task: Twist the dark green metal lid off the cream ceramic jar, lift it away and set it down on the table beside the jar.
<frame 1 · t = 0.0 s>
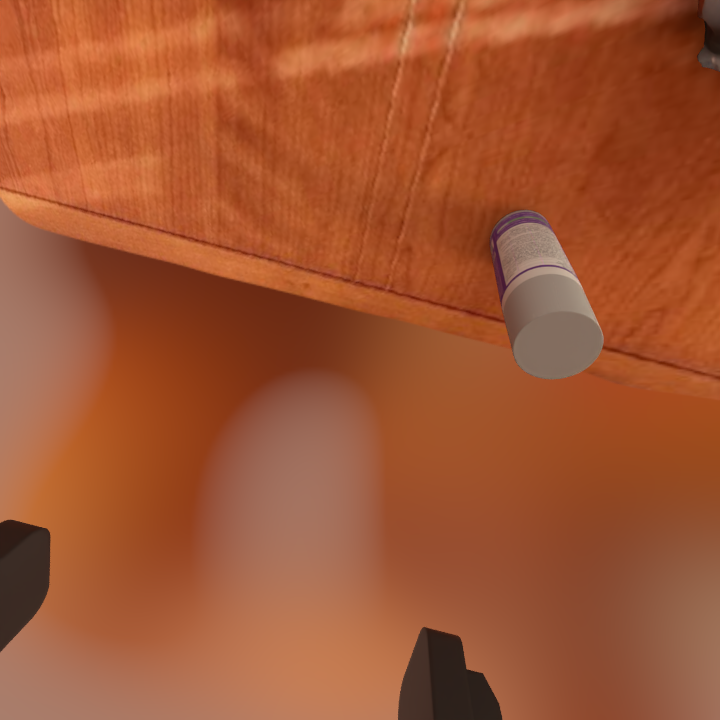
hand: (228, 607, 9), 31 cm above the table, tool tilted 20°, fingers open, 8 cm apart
container: (519, 238, 35), on the table
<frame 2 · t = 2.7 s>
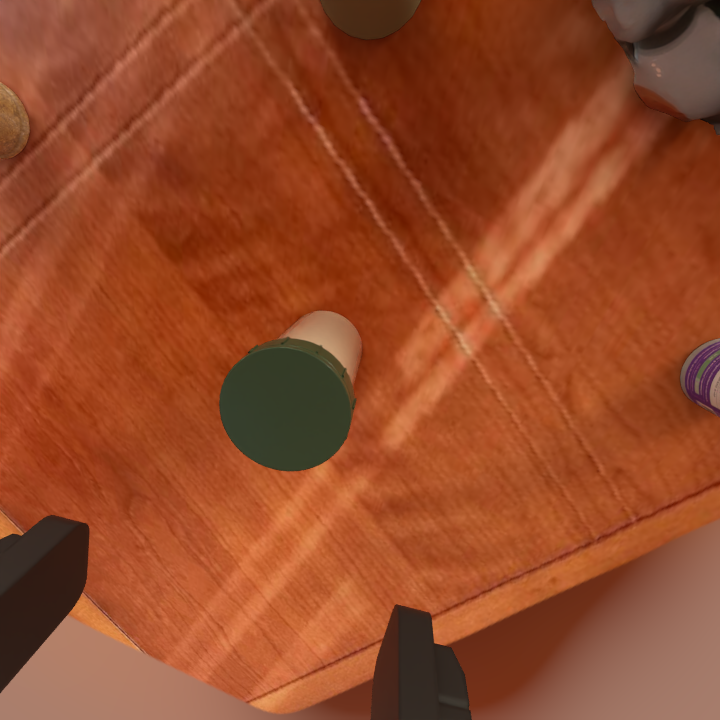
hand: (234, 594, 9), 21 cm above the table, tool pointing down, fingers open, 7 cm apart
container: (716, 371, 28), on the table
lid: (286, 408, 20), point 10 cm above the table, screwed on, not yet turned
jar: (324, 348, 30), on the table
sprinkles bottle: (1, 122, 27), on the table
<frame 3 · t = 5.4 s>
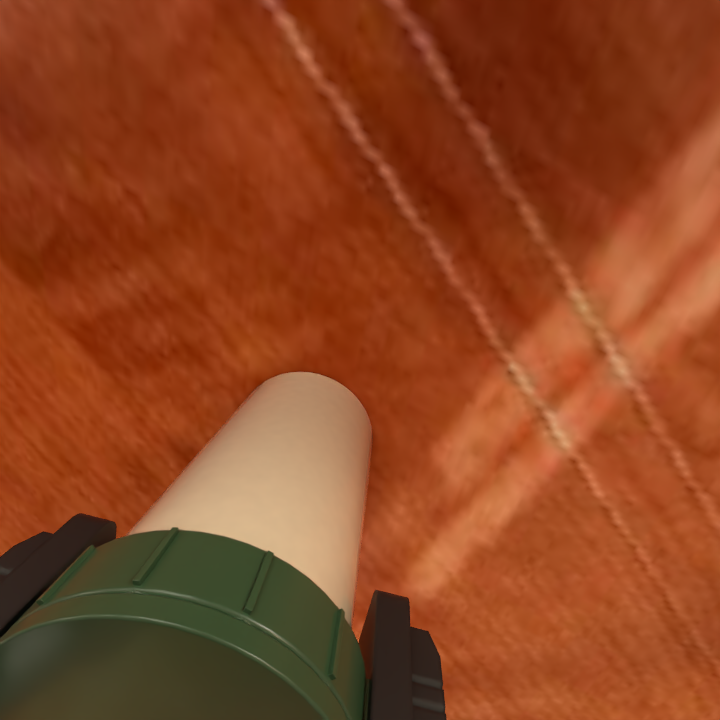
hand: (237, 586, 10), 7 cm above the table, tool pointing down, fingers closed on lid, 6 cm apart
jar: (305, 435, 17), on the table
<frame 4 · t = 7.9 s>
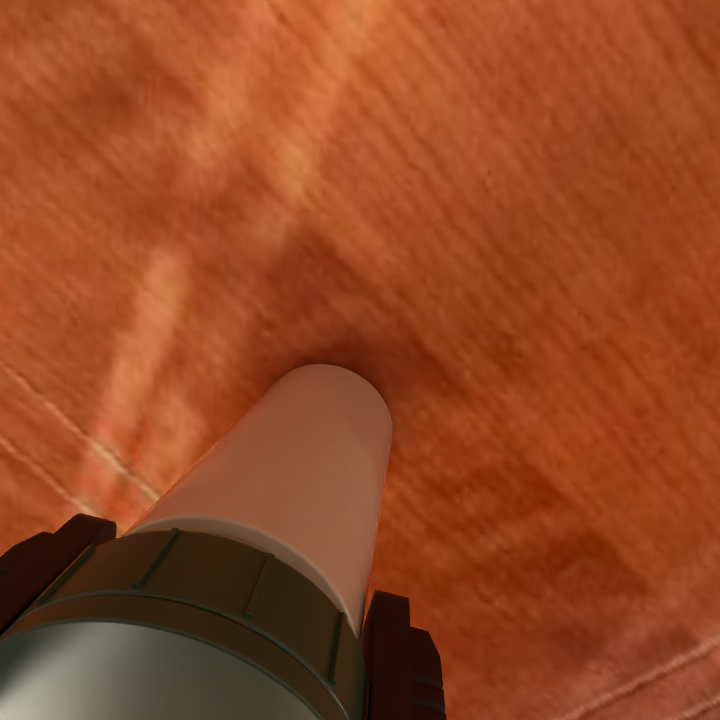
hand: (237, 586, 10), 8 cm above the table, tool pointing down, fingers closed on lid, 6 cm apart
jar: (325, 428, 17), on the table
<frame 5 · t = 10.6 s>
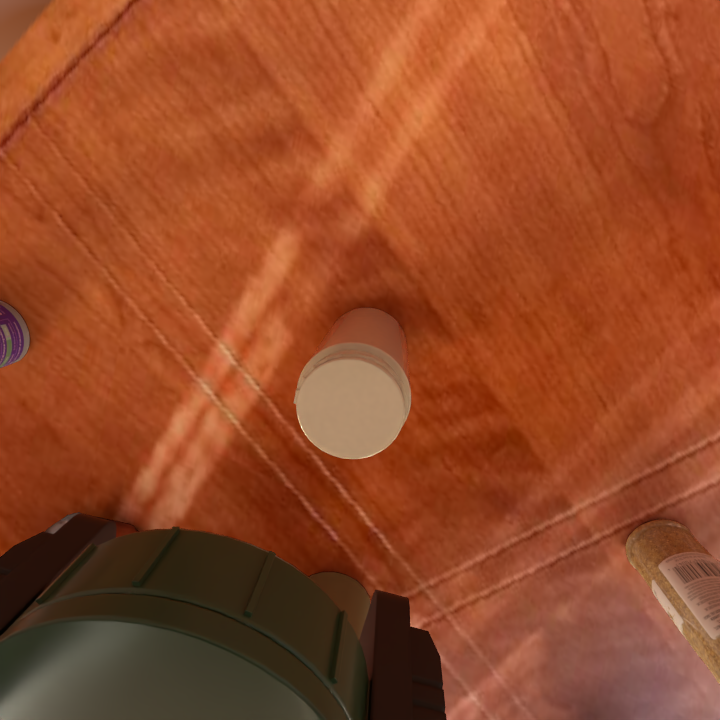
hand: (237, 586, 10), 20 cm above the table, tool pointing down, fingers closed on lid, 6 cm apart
container: (0, 331, 30), on the table
jar: (366, 347, 28), on the table
lucky cat figurine: (123, 579, 36), on the table
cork: (332, 601, 34), on the table
sprinkles bottle: (655, 541, 31), on the table
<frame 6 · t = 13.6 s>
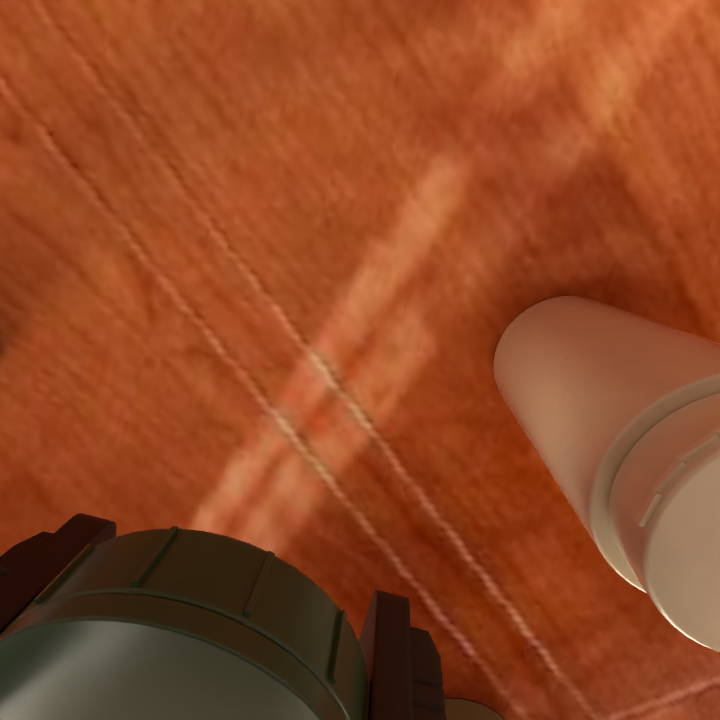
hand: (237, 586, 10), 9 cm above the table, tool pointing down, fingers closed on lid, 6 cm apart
jar: (561, 362, 17), on the table
when the fingers open (2 cm above the table, at t = 16.0 s): lid drops 3 cm, point 1 cm above the table.
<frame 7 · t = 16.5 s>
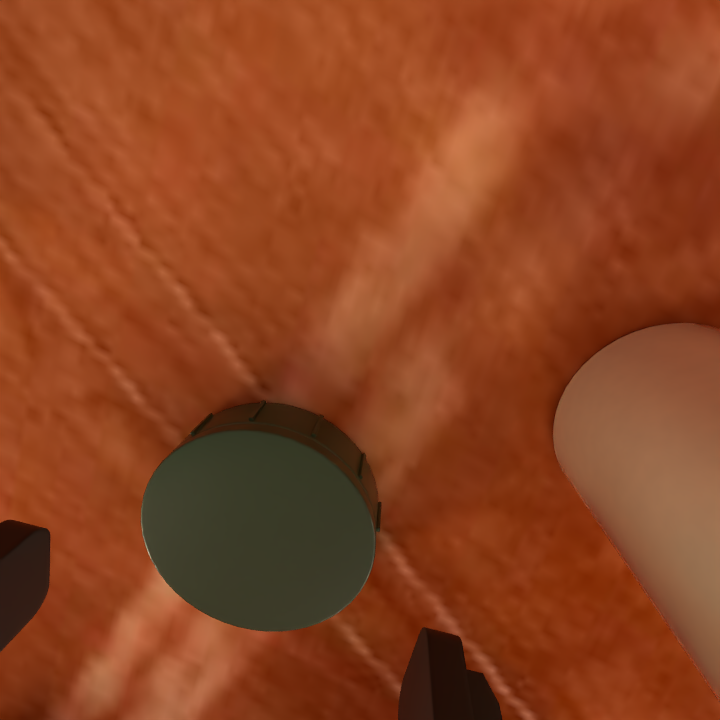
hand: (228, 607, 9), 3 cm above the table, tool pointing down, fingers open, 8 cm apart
lid: (260, 528, 11), point 1 cm above the table, off its thread
jar: (660, 424, 11), on the table
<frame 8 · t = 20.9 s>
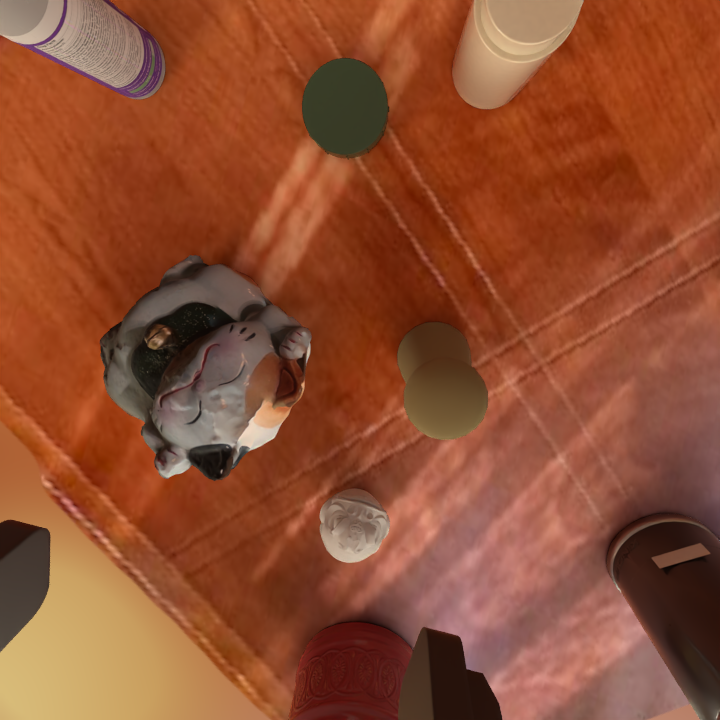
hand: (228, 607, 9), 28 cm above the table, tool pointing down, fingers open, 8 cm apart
kitchen canister: (360, 664, 47), on the table
container: (136, 64, 32), on the table
lid: (345, 109, 30), point 1 cm above the table, off its thread
jar: (490, 67, 30), on the table
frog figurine: (357, 497, 41), on the table
lucky cat figurine: (231, 341, 37), on the table
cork: (433, 356, 36), on the table
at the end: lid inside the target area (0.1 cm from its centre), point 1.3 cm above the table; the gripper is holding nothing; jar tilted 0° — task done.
